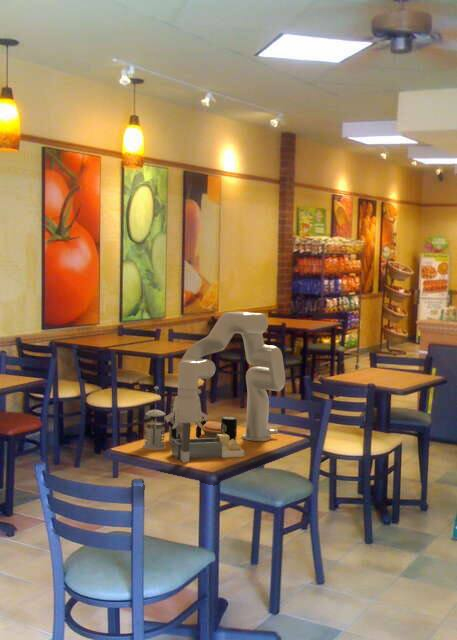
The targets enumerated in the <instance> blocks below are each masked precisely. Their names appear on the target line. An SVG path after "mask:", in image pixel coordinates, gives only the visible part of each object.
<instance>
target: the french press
mask: <svg viewBox="0 0 457 640" xmlns="http://www.w3.org/2000/svg"><path fill="white" fill-rule="evenodd" d="M153 390H155V393H157V392H158V391H157V390H159V386H157V385H156V386H154V388H153ZM154 406H155V408H154V409H151V410H148V411H146V412H145V416H146V417H154V420H153V418H152V419H151V421H147V422H146V426H145V431H144V432H145V434H144V436H145V437H144V444H143V445H142V449H146V450H151V451H152V450H157V451H158V450H164V449H166V448H167V445H165V434H166V433H165V428H166V427H165V426H163V425H164V424H165V423H164V422H161V421H158V419H157V418H158V417H165V415H166V413H165V412H164V411H162V410H159V409H157V405H154Z"/></svg>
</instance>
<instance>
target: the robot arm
mask: <svg viewBox="0 0 457 640" xmlns="http://www.w3.org/2000/svg"><path fill="white" fill-rule="evenodd" d="M268 327H269V320H268V316H267V315H265V314H264V313H260V312H249V311H226V312H223V313H222V314H221V315H220V317H219V318H218V320H217V321H216V322H215V324H214V326H213V327H212V329H211V331H210V332H209V334H208V335H207V336H206V337H204V338H202V339H200V340H199V341H197V342H195V343H194V344H191V346H190V347H188V348H187V350H186V351H185V353H184V355H183V356H182V357H181V360H180V361H179V362H178V374H177V375H178V377H177V378H178V379H177V380H178V381H177V395H175V397H174V401H173V402H174V407H173V412H172V413H170V412H169V414H168V415H166V416H165V415H164V420H165V421H166V423H167V425H168V426H169V428H170V427H171V436H172V438H173V439H176V433H177V429H176V426H177V425H178V424H179V423H191V424H196V427H195V437H196V439H198V438H201V436H202V429H201V428H202V427H203V426H204V425H206V424H207V422H208V420H209V417H210V416H209V415H208V414H206V413H204V412H202V411H201V410H202V409H201V399H200V396H199V394H202V389H199V379H203V380H207V379H211V378H212V377H213V376H214V375H215V372H216V369H217V367H216V365H215V363H214V362H213V360H211V359H207V358H203V357H204V356H208V355H210V354H215V353H218V352H222V351H224V350H225V349H226V348H227V347H228V344H229V343H230V341H231V339H232V338H233V336H234V335H235V334H240V335H241V338H242V340H243V347H244V353H245V358H246V359H245V360H246V362H247V364H249V365H250V366H252V367H250V368H248V370H246V374H245V382H246V383H245V384H246V388H247V389H246V390H247V395H246V398H247V399H246V421H245V422H246V423H245V425H246V426H245V433H243V434H241V435H242V436H241V438H242V439H244V440H246V441H251V442H266V441H270V440H271V439H272V436H271V435H278V434H279V430H278V429H272V428H269V413H270V412H269V411H270V410H269V409H270V408H269V407H270V405H269V404H270V398H269V395H268V391H275V392H279V391H281V390H283V389H284V387H285V384H286V371H285V365H284V364H285V363H284V358H283V353H282V351H281V349H280V348H279V347H278V346H275V345H271V344H270V345H268V344H265V341H264V336H263V334H264V333H265V332H266V331H267V330H268ZM172 417H173V423H171V422H170V418H172ZM202 417H203V419H202ZM201 419H202V420H201Z"/></svg>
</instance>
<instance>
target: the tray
mask: <svg viewBox="0 0 457 640" xmlns="http://www.w3.org/2000/svg"><path fill="white" fill-rule="evenodd" d="M221 458H222V459H231V458H245V450H244V449H242V448H241V449H240V450H239V451H228V449H227V447H226V446H222V457H221Z"/></svg>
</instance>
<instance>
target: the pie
mask: <svg viewBox="0 0 457 640" xmlns="http://www.w3.org/2000/svg"><path fill="white" fill-rule="evenodd" d="M201 431H202V432H203V433H204V435H205V437H207V438H217V434H221V422H210V423H205V424H204V426H203V427H202V428H201Z"/></svg>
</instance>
